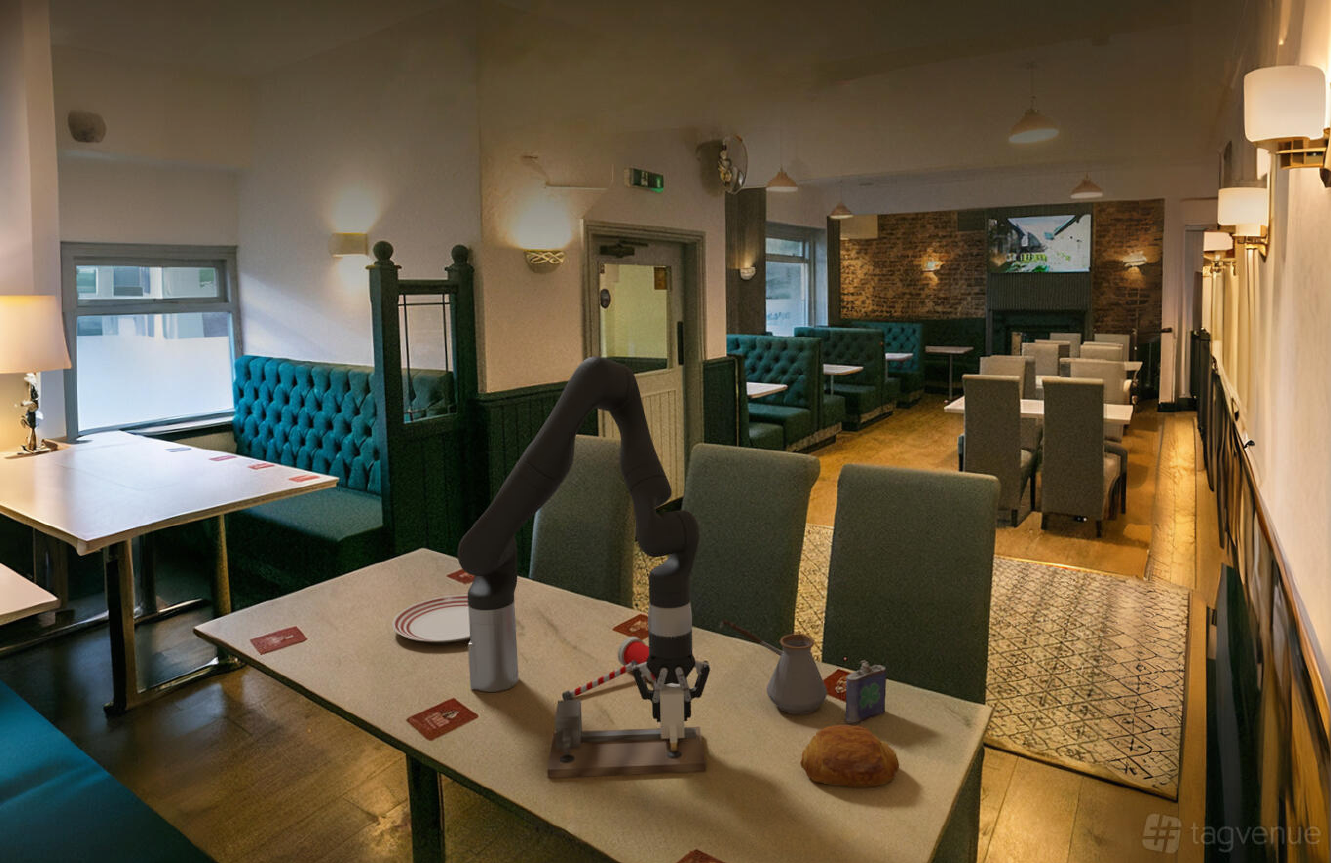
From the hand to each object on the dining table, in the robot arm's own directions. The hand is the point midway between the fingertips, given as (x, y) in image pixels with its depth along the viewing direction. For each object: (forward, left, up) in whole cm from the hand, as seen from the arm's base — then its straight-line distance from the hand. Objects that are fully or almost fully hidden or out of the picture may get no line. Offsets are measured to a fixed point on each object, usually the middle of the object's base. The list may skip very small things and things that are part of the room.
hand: (671, 718), depth 150 cm
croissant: (+29, -10, -5) cm, 31 cm away
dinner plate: (-50, +58, -5) cm, 77 cm away
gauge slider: (0, -2, -2) cm, 3 cm away
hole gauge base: (-8, -3, -5) cm, 10 cm away
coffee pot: (+20, +15, -5) cm, 26 cm away
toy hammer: (-9, +25, -5) cm, 28 cm away
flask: (+36, +7, -5) cm, 37 cm away
